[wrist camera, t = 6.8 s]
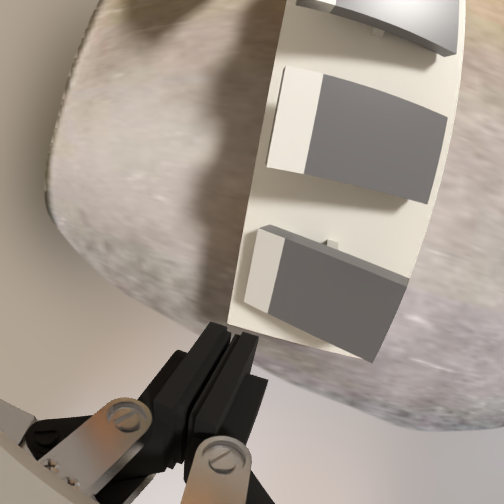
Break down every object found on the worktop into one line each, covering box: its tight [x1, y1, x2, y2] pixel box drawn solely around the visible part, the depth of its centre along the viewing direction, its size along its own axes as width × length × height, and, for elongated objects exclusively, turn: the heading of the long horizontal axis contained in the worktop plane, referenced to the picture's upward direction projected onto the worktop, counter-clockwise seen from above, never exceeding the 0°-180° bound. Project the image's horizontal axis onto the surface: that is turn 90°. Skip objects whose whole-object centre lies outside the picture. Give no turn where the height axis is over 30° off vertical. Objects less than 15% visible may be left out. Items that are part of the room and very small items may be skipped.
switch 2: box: [265, 65, 448, 204], centre depth 13 cm, size 8×4×1 cm, turn 80°
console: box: [227, 0, 465, 359], centre depth 17 cm, size 10×26×7 cm, turn 169°
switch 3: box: [244, 224, 410, 363], centre depth 16 cm, size 8×4×1 cm, turn 79°
